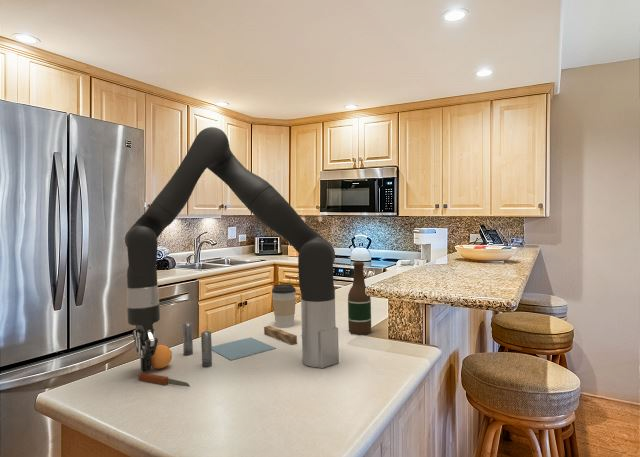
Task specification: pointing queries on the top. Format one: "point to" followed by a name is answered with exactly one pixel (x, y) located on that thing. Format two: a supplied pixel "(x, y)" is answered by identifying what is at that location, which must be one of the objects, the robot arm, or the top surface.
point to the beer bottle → (359, 304)
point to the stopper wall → (280, 335)
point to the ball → (161, 357)
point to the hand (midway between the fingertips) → (146, 370)
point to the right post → (206, 349)
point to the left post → (187, 338)
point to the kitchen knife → (160, 380)
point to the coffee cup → (284, 304)
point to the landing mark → (241, 348)
